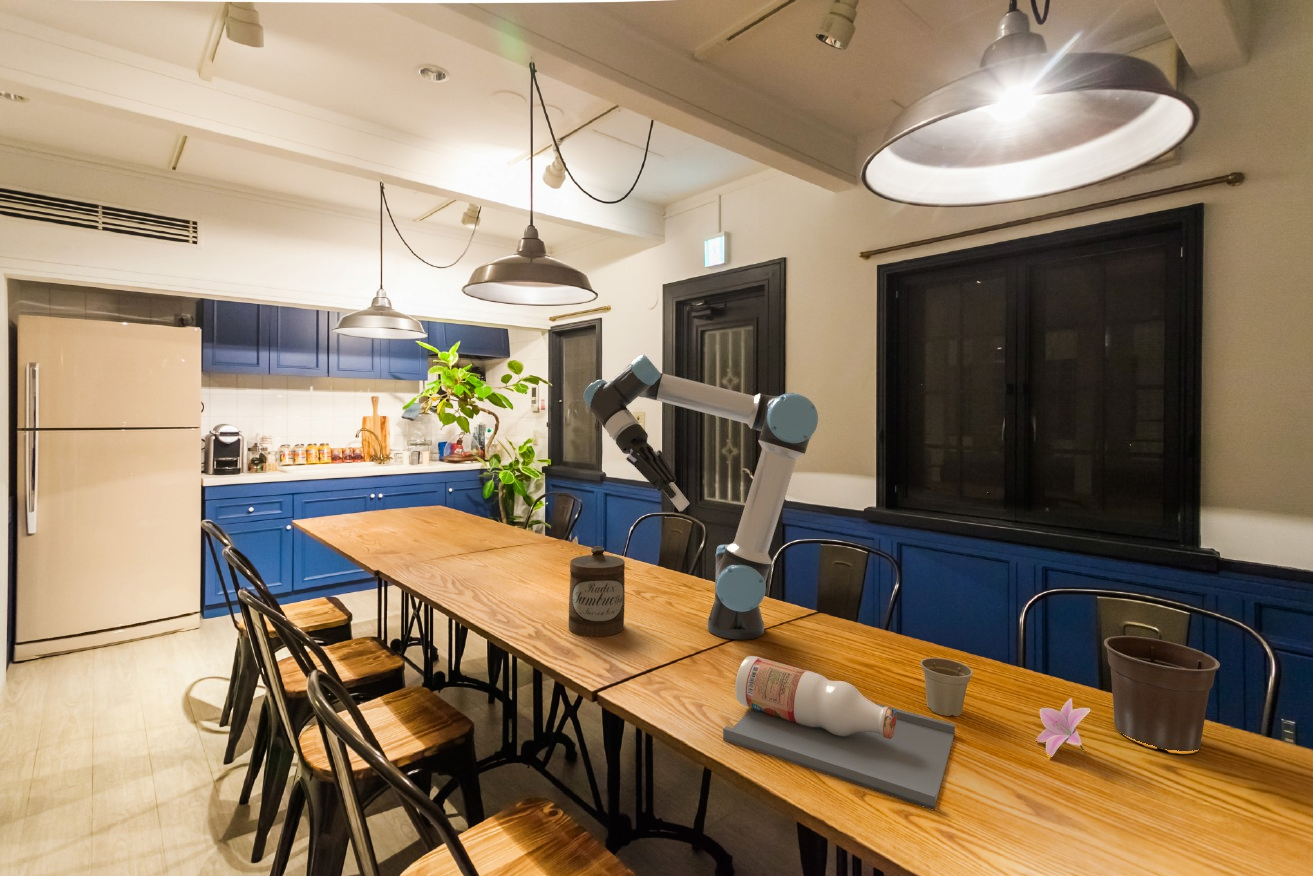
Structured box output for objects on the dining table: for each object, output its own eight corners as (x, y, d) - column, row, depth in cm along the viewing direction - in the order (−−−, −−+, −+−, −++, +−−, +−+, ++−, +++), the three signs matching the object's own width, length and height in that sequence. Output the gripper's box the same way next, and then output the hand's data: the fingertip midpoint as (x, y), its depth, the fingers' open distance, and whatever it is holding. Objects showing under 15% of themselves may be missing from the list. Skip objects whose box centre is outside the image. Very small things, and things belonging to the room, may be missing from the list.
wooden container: (571, 639, 153) (573, 552, 153) (566, 620, 168) (567, 541, 167) (628, 635, 157) (630, 551, 156) (618, 617, 171) (620, 540, 171)
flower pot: (967, 703, 123) (968, 661, 123) (975, 725, 114) (977, 680, 114) (916, 695, 126) (918, 654, 126) (920, 716, 117) (922, 672, 117)
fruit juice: (755, 647, 122) (900, 686, 106) (755, 692, 123) (899, 737, 107) (733, 665, 115) (886, 709, 99) (733, 712, 115) (885, 764, 99)
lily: (1042, 734, 113) (1021, 694, 113) (1109, 730, 107) (1088, 687, 106) (1043, 780, 104) (1020, 736, 104) (1117, 778, 98) (1093, 732, 97)
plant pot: (1182, 771, 100) (1187, 674, 100) (1081, 725, 115) (1084, 641, 114) (1235, 752, 107) (1239, 661, 106) (1132, 711, 121) (1136, 631, 121)
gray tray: (723, 740, 106) (723, 728, 106) (776, 687, 128) (777, 678, 128) (934, 810, 88) (934, 797, 88) (954, 735, 110) (955, 724, 110)
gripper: (633, 443, 155) (688, 514, 146) (602, 443, 144) (659, 521, 135) (651, 422, 152) (708, 494, 143) (620, 421, 141) (680, 499, 132)
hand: (684, 507), depth 139 cm, fingers closed
